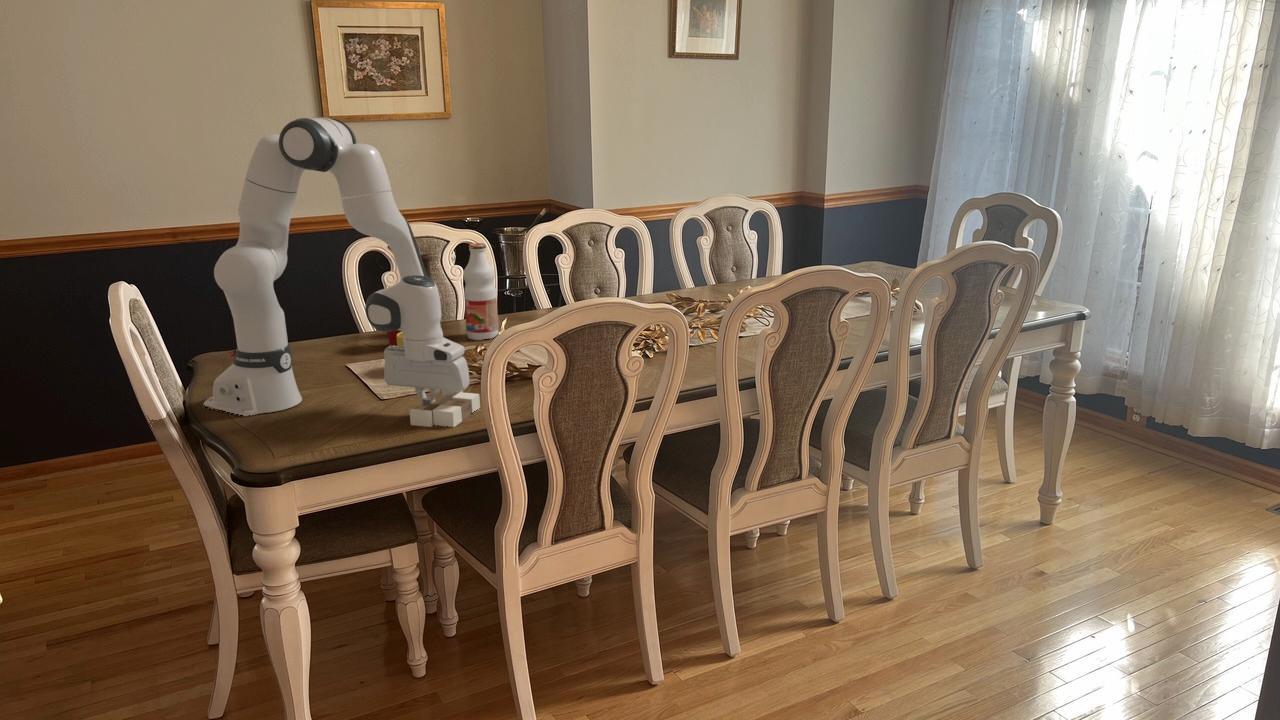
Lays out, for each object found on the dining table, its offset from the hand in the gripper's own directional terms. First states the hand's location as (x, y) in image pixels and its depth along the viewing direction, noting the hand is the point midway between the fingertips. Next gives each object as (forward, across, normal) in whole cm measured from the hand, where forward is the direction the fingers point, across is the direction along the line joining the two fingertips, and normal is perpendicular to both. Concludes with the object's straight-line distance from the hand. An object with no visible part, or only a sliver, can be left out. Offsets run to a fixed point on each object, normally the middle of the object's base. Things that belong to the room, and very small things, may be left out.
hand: (428, 405), depth 214 cm
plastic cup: (+2, -36, +49) cm, 61 cm away
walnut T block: (+2, +4, 0) cm, 5 cm away
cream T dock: (+2, +5, 0) cm, 5 cm away
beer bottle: (+2, -36, +65) cm, 74 cm away
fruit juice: (+2, -18, +65) cm, 68 cm away
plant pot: (+2, -20, +31) cm, 37 cm away
